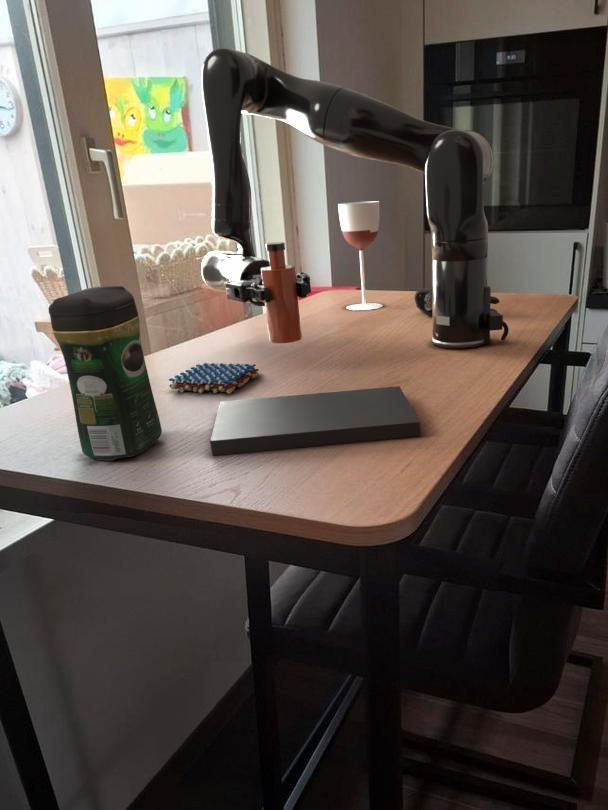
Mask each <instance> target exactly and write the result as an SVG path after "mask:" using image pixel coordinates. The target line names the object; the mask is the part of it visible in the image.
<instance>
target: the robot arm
mask: <svg viewBox="0 0 608 810" xmlns="http://www.w3.org/2000/svg"><path fill="white" fill-rule="evenodd" d="M200 76H201V77H200V78H201V79H200V81H201V82H200V83H201V94H202V101H203V109H204V115H205V122H206V130H207V141H208V147H209V154H210V157H209V158H210V164H211V180H212V181H211V185H212V186H211V187H212V190H211V191H212V197H211V200H212V202H211V203H212V204H211V207H212V209H211V217H212V218H211V229H212V233H213V234H214V235H215V236H216V237H218V238H220V239H224V240H228V241H231V242H234V243H235V244H236V246H237V249H238V250H237V251H225V250H224V251H223V250H221V251H220V250H214V251H210V252H208V253H207V254H206V255H205V256H204V258H203V259H202V262H201V277H202V280H203V281H204V283H205V284H206V286H207V287H208V288H209V289H211V290H213V291H217V292H224V293H225V294H226V299H228V300H232V301H235V302H241V303H245V304H246V303H249V304H250V305H253V306H255V307H265V303H269V302H270V297H269V289H268V287H265V286H263V285H262V277H261V268H264V267H268V266H270V265H269V260H266V259H263V258H260V257H256V253H255V248H254V244H253V238H252V228H251V227H252V226H251V225H252V224H251V223H252V188H251V182H250V178H249V174H248V169H247V166H246V163H245V159H244V155H243V149H242V143H241V121H242V114H243V115H244V114H245V115H255V116H259V117H264V118H269V119H272V120H275V121H279V122H283V123H284V124H288V125H289V126H291V127H293V128H295V129H296V130H298V131H299V132H300V133H302V134H303V135H305V136H307V137H308V138H309V139H311V140H313V141H314V142H316V143H318V144H321V145H323V146H325V147H327V148H330V149H333V150H335V151H339V152H341V153H343V154H346V155H350V156H352V157H353V156H354V157H357V158H361V159H365V160H369V161H374V162H380V163H386V164H393V165H398V166H403V167H407V168H410V169H412V170H415V171H417V172H420V173H421V174H424V182H425V183H424V186H425V203H426V204H425V205H426V206H425V207H426V217H427V222H428V226H429V228H430V240H431V241H430V243H431V245H430V247H431V249H430V250H431V289H432V314H433V316H432V338H431V340H432V341H431V342H432V345H434V346H435V347H439V348H443V349H470V348H476V347H480V346H483V345H490V343H491V332H493V331H502V330H503V333H502V335H501V337H500V340H501V341H506V339H507V337H508V335H509V325H508V323H507V322H505V320H503V319H504V315H503V314H501V313H500V312H498V310H496V309H495V310H496V311H495V310H490V309H491V303H490V298H491V296H492V295H491V294H492V293H491V292H492V291H491V286H490V285H488V258H489V257H488V246H489V244H488V242H489V238H488V237H489V223H488V219H487V216H486V214H485V209H484V185H485V184H486V182H487V181H488V180H489V179H490V177H491V176H492V174H493V171H494V169H495V155H494V152H493V148H492V147H491V144H490V143H489V142H488V140H487V139H486V138H485V137H484V136H483V135H481V134H480V133H479V132H476V131H475V130H469V129H460V128H454V127H450V126H445V125H441V124H437V123H433V122H431V121H430V122H429V121H427V120H423V119H420V118H417V117H416V116H414V115H411V114H409V113H407V112H405V111H403V110H401V109H399V108H397V107H395V106H393V105H390V104H388V103H386V102H384V101H383V100H379V99H376V98H374V97H371V96H369V95H367V94H365V93H361V92H359V91H356V90H354V89H350V88H347V87H344V86H342V85H337V84H334V83H330V82H326V81H321V80H315V79H307V78H302V77H298V76H295V75H292V74H291V73H288V72H286V71H283V70H282V69H280V68H277V67H275V66H274V65H271V64H269V63H267V62H266V61H264V60H262V59H260V58H258V57H256V56H254V55H253V54H250V53H247V52H243V51H239V50H235V49H232V48H228V47H219V48H216V49H213V50H212V51H211V52H209V53H208V55H207V56H206V57H205V59H204V61H203V64H202V68H201V75H200ZM296 281H297V291H298V298H300V299H305V298H307V296H308V295H310V294H312V288H311V277H310V275H309V274H307V273H306V272H304V271H301V272H299V273H298V274H296Z"/></svg>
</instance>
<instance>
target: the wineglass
mask: <svg viewBox="0 0 608 810" xmlns="http://www.w3.org/2000/svg"><path fill="white" fill-rule="evenodd" d="M337 208H338V217H339V223H340V224H339V225H340V228H341V232H342V237H343V238H344V240H345V241H346V242H347V243H348V244H349V245H351V246H352V247H354V248H355V249H357V250H358V251H359V266H360V282H361V301H362V303H356V304H351V305H348V306H346V309H347V310H351V311H368V310H369V311H371V310H376V309H380V308H383V306H384V305H383V304H382V303H375V302H374V303H372V302H367V295H366V293H367V292H366V275H365V259H364V257H365V256H364V250H365V249H366V248H368V247H369V246H370V245H371V244H372V243H373V242H374V241H375V240H376V238H377V236H378V232H379V227H380V201H379V200H374V201H373V200H370V201H369V200H368V201H366V200H365V201H352V202H342V203H338V204H337Z"/></svg>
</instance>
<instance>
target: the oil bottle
mask: <svg viewBox="0 0 608 810" xmlns="http://www.w3.org/2000/svg"><path fill="white" fill-rule="evenodd" d="M285 244H286V243H285V241H275V242H268V243H265V250H266V252H267V257H268V261H269V265H270V266H268V267H264V268H261V277H262V285H263V286H265V287H268V289H269V297H270V302H269V303H265V306H264V309H265V316H266V317H265V318H266V326H267V333H268V342H270V343H272V344H290V343H291V344H292V343H295V342H299V341H301V340H302V339H303V334H302V333H303V331H302V323H301V312H300V311H301V310H300V303H299V297H298V291H297V281H296V278H297V273H296V266H295V265H294V264H286V256H285V250H286V245H285Z"/></svg>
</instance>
